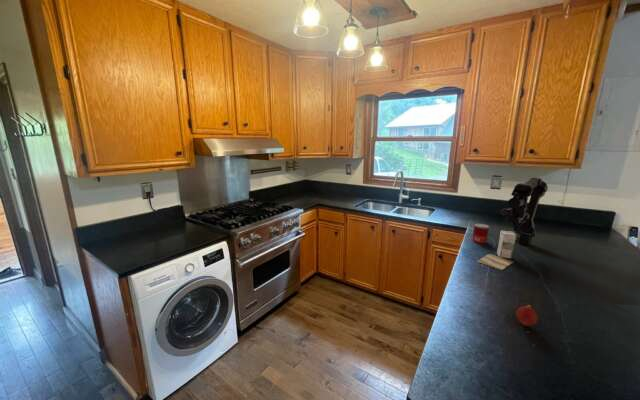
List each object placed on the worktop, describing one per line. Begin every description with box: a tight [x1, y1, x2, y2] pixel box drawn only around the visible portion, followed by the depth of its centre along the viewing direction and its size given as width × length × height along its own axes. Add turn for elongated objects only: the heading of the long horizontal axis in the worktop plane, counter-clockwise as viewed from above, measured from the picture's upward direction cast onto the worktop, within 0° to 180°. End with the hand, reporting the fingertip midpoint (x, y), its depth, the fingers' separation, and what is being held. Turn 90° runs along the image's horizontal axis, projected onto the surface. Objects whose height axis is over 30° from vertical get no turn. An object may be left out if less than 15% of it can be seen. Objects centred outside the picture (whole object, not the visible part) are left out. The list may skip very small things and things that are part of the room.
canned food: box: [472, 223, 490, 244], centre depth 168 cm, size 8×8×11 cm
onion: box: [515, 304, 538, 327], centre depth 91 cm, size 6×6×8 cm
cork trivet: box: [476, 253, 514, 271], centre depth 140 cm, size 16×12×1 cm
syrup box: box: [496, 230, 517, 260], centre depth 146 cm, size 6×6×14 cm
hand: (515, 231), depth 154 cm, fingers closed
